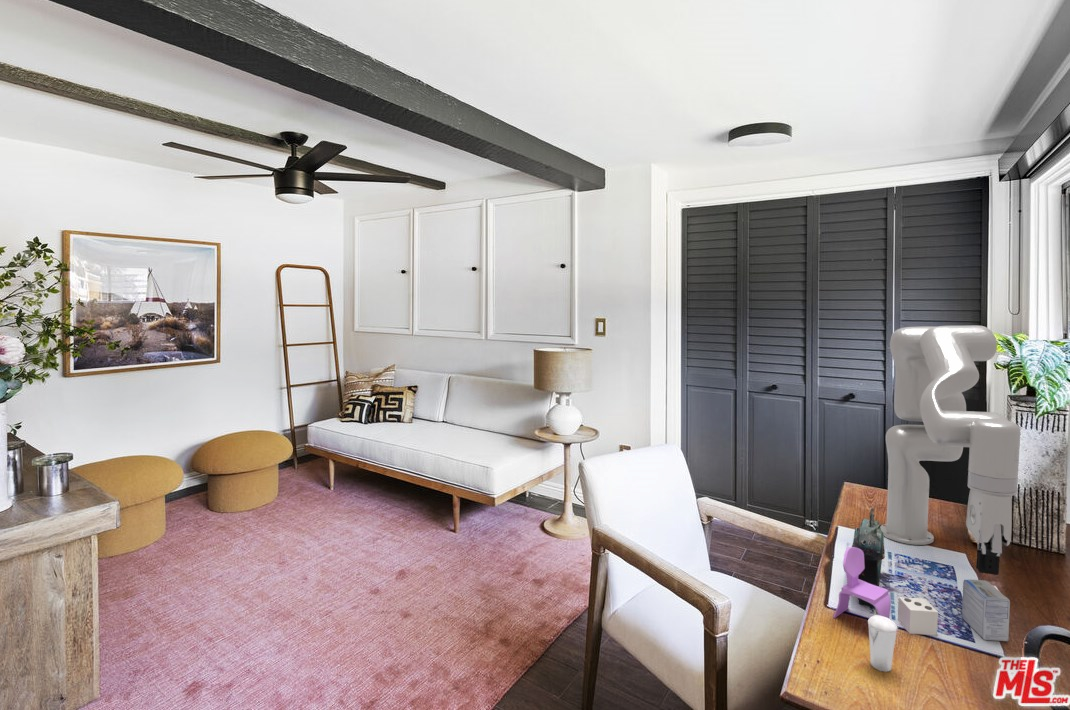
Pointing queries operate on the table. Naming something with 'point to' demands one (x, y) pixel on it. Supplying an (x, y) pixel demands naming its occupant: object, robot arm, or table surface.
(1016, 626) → the table surface
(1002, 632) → the medicine box
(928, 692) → the table surface
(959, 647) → the table surface
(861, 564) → the toy chair
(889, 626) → the milkshake
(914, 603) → the dotted block three
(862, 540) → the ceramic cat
